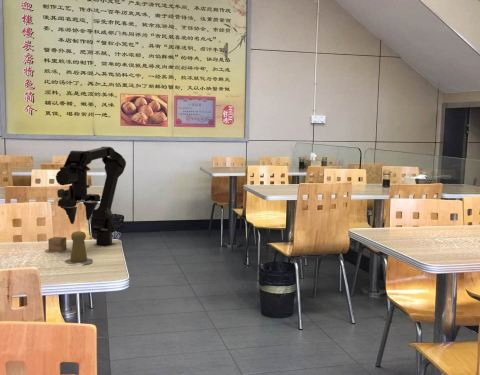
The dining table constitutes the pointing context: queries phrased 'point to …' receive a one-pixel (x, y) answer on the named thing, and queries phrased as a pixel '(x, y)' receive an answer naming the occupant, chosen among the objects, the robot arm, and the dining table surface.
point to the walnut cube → (57, 244)
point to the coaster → (58, 252)
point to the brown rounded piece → (78, 247)
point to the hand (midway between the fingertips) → (80, 221)
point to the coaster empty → (89, 261)
